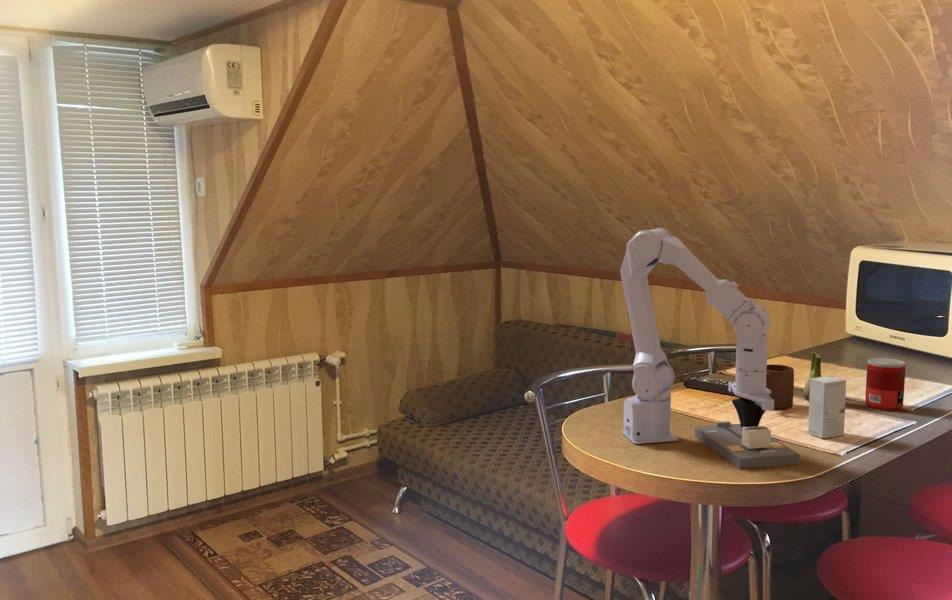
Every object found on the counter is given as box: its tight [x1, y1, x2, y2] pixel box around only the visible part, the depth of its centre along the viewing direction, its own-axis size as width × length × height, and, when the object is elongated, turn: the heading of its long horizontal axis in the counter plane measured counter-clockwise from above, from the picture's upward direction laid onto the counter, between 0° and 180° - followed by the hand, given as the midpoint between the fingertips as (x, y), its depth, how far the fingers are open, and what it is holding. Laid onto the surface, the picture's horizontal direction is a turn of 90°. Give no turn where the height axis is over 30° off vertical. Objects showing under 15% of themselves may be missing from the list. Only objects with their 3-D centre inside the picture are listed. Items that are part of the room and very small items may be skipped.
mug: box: [766, 363, 795, 411], centre depth 186 cm, size 12×8×9 cm, turn 124°
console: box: [694, 420, 800, 470], centre depth 159 cm, size 12×20×3 cm, turn 9°
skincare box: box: [807, 375, 847, 439], centre depth 166 cm, size 6×4×12 cm
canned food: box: [864, 357, 907, 412], centre depth 185 cm, size 8×8×11 cm
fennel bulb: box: [802, 351, 822, 402], centre depth 191 cm, size 6×5×12 cm
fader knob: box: [742, 425, 772, 449], centre depth 154 cm, size 4×3×4 cm
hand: (749, 435), depth 156 cm, fingers closed
